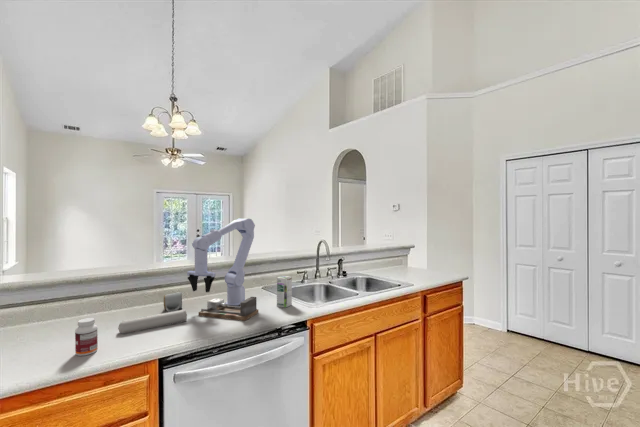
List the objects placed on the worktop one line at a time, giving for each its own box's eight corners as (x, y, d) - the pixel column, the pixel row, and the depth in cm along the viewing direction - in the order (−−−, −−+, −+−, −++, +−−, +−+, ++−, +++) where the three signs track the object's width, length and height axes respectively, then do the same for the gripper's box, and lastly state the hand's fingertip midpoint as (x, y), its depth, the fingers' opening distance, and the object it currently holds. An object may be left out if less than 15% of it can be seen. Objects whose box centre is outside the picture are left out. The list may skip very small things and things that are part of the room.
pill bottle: (77, 350, 114) (76, 318, 113) (98, 347, 116) (98, 315, 116) (73, 357, 108) (73, 324, 108) (96, 354, 111) (96, 321, 111)
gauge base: (198, 315, 151) (198, 299, 151) (214, 308, 162) (214, 292, 162) (245, 320, 144) (245, 303, 144) (258, 312, 155) (258, 296, 155)
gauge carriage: (203, 312, 150) (203, 303, 150) (215, 306, 159) (215, 298, 159) (218, 313, 148) (218, 304, 148) (229, 308, 156) (229, 299, 156)
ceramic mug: (164, 307, 164) (164, 291, 163) (182, 305, 167) (182, 290, 167) (163, 314, 154) (162, 297, 154) (182, 311, 157) (182, 295, 157)
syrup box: (276, 306, 165) (276, 277, 165) (282, 303, 170) (282, 275, 170) (285, 307, 163) (285, 278, 162) (292, 304, 168) (292, 276, 168)
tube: (119, 326, 126) (187, 313, 141) (117, 318, 130) (183, 306, 145) (118, 338, 128) (186, 324, 143) (117, 330, 132) (183, 317, 147)
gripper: (182, 263, 156) (182, 292, 156) (208, 264, 151) (209, 294, 151) (192, 261, 162) (192, 288, 163) (218, 262, 158) (218, 290, 158)
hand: (201, 291), depth 157 cm, fingers open, 7 cm apart
